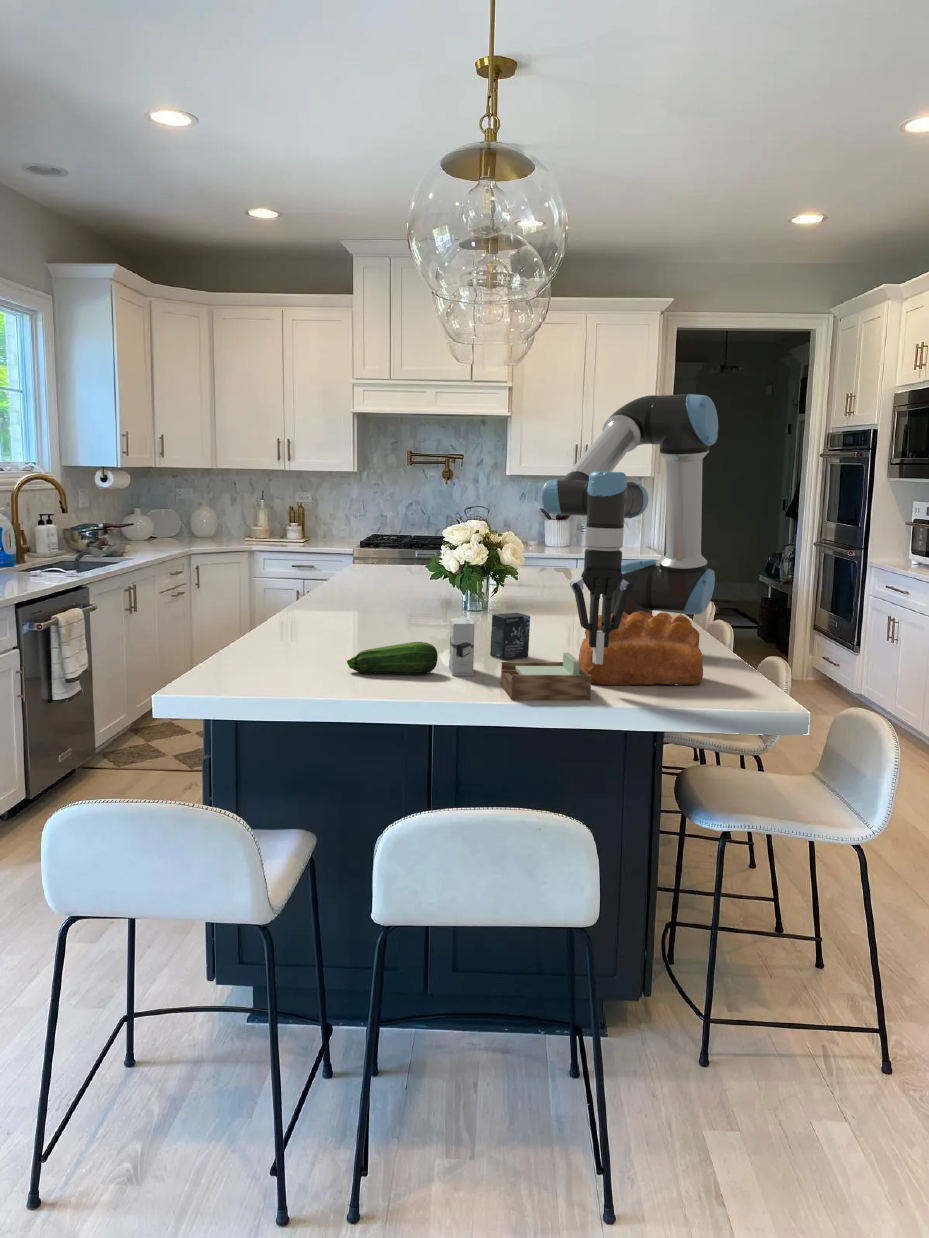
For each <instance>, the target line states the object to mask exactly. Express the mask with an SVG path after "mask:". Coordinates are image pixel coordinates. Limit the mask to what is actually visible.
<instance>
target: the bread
mask: <svg viewBox="0 0 929 1238" xmlns="http://www.w3.org/2000/svg"><path fill="white" fill-rule="evenodd" d="M612 615H613V613H612V614H611V618H612ZM601 620H602V614H599V615H598V630H597V631H602V629H601ZM610 622H611V621H610ZM584 630H585V631H584V635H585V637H584V639H582V642H581V644H580V648H579V654H578V659H577V660H578V661H579V662H580V663H579V667H580V668H581V669H582V670H583V671H584V672H586V673H587V674H588V675H591V684H593V685H598V686H599V685H600V686H602V685H606V686H611V685H612V686H622V685H623V686H625V685H626V686H630V685H632V686H635V685H639V686H642V685H643V686H647V685H648V686H653V684H655V685H662V684H670V685H669V686H676V685H675V684H695V685H699V684H698V683H700V684H701V683H702V682H703V677H704V664H703V663H704V662H703V661H704V660H703V653H702V651H701V649H700V632H699V631H698V630H697V629H696V628H695V627H694V626H693V625H692V622H691V620H690V619H689V618H688V617H686V615H685V616H684V614H681V613H679V614H678V615H676V616H673V617H672V615H670V614H669V613H668V612H659V613H657V614H656V615H653V614H652V615H651V614H650V613H647V612H644V611H638V612H634V613H632V614H631V615H628V614H627V613H625V612H623V614H622V617H621V621H620V624H619V627H618V629H614V630H612V631H611V632H610V633H609V644H608V647H604V652H603V664H595V663H594V662H592V658H593V647H590V646H589V630H587V629H584Z"/></svg>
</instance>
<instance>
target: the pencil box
mask: <svg viewBox="0 0 929 1238" xmlns="http://www.w3.org/2000/svg"><path fill="white" fill-rule="evenodd" d="M515 666H563V661H501V669H500V670H501V672H500V686H501V687H502V689H503V690H504V692H505V693H506V694H507V696H508V697H509V699H510V700H511V701H591V692H592V683H591V675H588V674H587V673H586V672H584V671H583V670H582V669H581V668H580V667H579V673H580V674H581V675H519V673H518V672H517V671H516V670H515Z"/></svg>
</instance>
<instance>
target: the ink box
mask: <svg viewBox="0 0 929 1238" xmlns="http://www.w3.org/2000/svg"><path fill="white" fill-rule="evenodd" d="M449 631H450V632H449V633H450V634H449V657H448V659H449V661H448V662H449V665H448V667H449V670H450V672H451V673H450V674H451V675H452V676H454V677H460V676H461V677H473V676H474V663H475V661H474V659H475V658H474V656H475V655H474V653H475V621H474V620H473V618H472V617H455V618H454V617H452V618H450V630H449Z"/></svg>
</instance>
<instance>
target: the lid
mask: <svg viewBox="0 0 929 1238" xmlns="http://www.w3.org/2000/svg"><path fill="white" fill-rule="evenodd" d="M562 654H563V656H562V662H563V666H515V670H516V671H517V672H518V673H519V675H581V674H580V673H579V663H580V662H579V661H578V660H579V659H577V658H576V657H574V655H572V654H571V653H570V652H563V653H562Z"/></svg>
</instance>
